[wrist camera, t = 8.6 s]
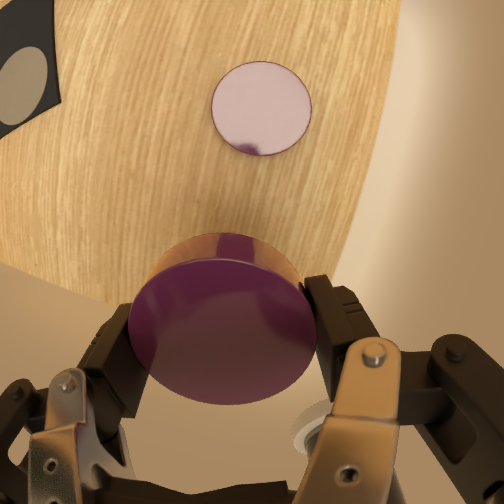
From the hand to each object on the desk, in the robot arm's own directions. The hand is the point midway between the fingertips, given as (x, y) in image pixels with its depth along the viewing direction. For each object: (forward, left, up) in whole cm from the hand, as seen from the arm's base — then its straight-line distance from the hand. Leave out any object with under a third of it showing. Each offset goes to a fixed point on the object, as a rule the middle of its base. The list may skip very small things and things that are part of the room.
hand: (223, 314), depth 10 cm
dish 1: (+7, -3, -11) cm, 14 cm away
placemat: (+19, +20, -11) cm, 30 cm away
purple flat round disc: (0, 0, -1) cm, 1 cm away
